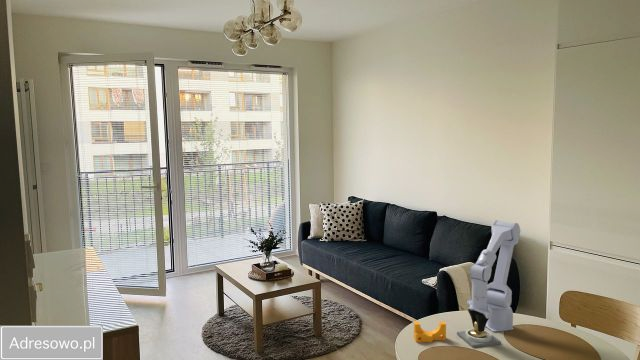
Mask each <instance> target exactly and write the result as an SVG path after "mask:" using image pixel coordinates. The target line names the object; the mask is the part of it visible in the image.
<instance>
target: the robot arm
mask: <svg viewBox="0 0 640 360" xmlns="http://www.w3.org/2000/svg"><path fill="white" fill-rule="evenodd" d="M520 235H521V227H520V224H519V223H518V222H509V221H501V220H498V219H497V220H494V221H493V222H492V223H491V238H490V240H489V242H488V245H487V247H486V249H483V250H482V251H481V252H480V255H479V256H478V258H477V261H476V262H475V263H474V264H472V265H471V266H470V268H469V271H468V275H469V278H470V284H471V299H467V301H466V305H467V306H468V309H467V312H468V313H469V316H470V319H471V324H472V327H473V328H474V322H475V321H477V325H478V331H479V332H482V331H484V329H485V330H486V328H487V329H489V330H490V331H491V332H494V333H496V332H505V331H513V330H515V329H514V327H513V326H514V325H513V324H514V312H513V309H512V307H511V305H512V299H513V298H512V295H513V293H512V292H513V291H512V289H511V288H510V287H509V286H508V284H507V283H508V282H507V281H508V277H509V272H510V266H511V263H512V257H513V252H514V248H515V245H517V244H518V243H519V241H520V239H519V238H520ZM499 248H500V249H499ZM498 250H499V254H498V258H497V254H496V253H497V251H498ZM496 259H497V264H496V268H495V273H494V278H493V281H492V282H490V283H488V281H490V278H491V276H492V268H493V266H494V263H495V261H496Z"/></svg>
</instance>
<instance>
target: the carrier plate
mask: <svg viewBox="0 0 640 360" xmlns="http://www.w3.org/2000/svg"><path fill="white" fill-rule="evenodd" d="M471 329H472V328H468V329H467V330H462V331H456V335H457V336H458V337H459V338H460V339H462V340H463V341H464V342H465V343H466V344H467V345H468V346H470V347H471V348H480V347H488V346H489V347H491V346H497V345H502V341H501V340H500V339H499V338H497V337H496V336H494V335H493V334H492V333H491V332H490V331H488V330H486V328H485V329H484V331H485V332H486V337H484V338H476V337H473V336H471V335H470V330H471Z"/></svg>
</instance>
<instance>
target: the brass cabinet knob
mask: <svg viewBox="0 0 640 360" xmlns="http://www.w3.org/2000/svg"><path fill="white" fill-rule="evenodd" d="M470 329H471V330H470V335H471V336H473V337H476V338H484V337H486V332H485V331H482V332H479V331H478V325H477V321H475V322H474V327H473V328H470Z"/></svg>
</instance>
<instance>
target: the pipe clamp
mask: <svg viewBox="0 0 640 360" xmlns="http://www.w3.org/2000/svg"><path fill="white" fill-rule="evenodd" d="M413 338H414V340H415V342H416V343H432V342H433V341H446V339H447V324H446V322H445V321H439V324H438V326H437V327H436V328H435V329H434V330H431V331H426V330H424V329H423V328H422V327H421V323H420V321H413Z"/></svg>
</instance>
